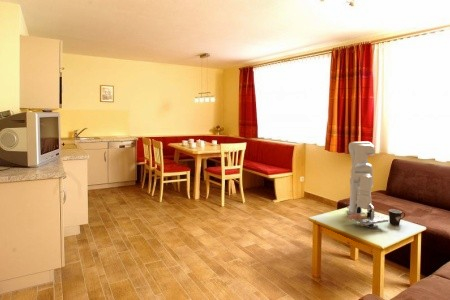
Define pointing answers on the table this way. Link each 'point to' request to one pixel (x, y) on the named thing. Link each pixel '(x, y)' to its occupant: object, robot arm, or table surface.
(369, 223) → the square metal plate
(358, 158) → the robot arm
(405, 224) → the table surface
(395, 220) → the coffee mug
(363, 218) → the yellow block
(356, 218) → the bracket
